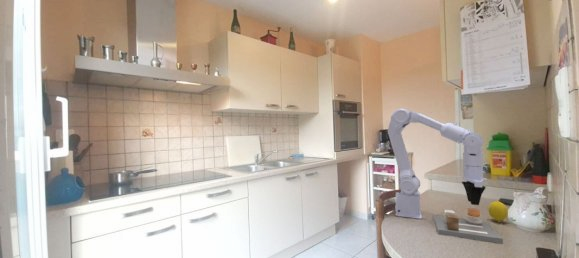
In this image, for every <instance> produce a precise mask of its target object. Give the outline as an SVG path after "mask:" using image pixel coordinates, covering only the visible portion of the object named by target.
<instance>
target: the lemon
mask: <svg viewBox="0 0 579 258" xmlns="http://www.w3.org/2000/svg"><path fill="white" fill-rule="evenodd" d="M488 213H489V216H490V217H491V218H492V219H493V220H495V221H496V222H497V223H499V222H501V221H504V220H506V219H507V218H508V214H509V213H508V208H507V206H506V205H505V203H503V202H501V201H499V200H495V201H493V202H491V203H490V204H489V206H488Z"/></svg>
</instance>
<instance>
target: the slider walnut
mask: <svg viewBox="0 0 579 258" xmlns="http://www.w3.org/2000/svg"><path fill="white" fill-rule="evenodd" d="M446 218H447V228H448V229H452V230H459V218H460V217H458V215H456V214H455V215H449V214H446Z"/></svg>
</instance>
